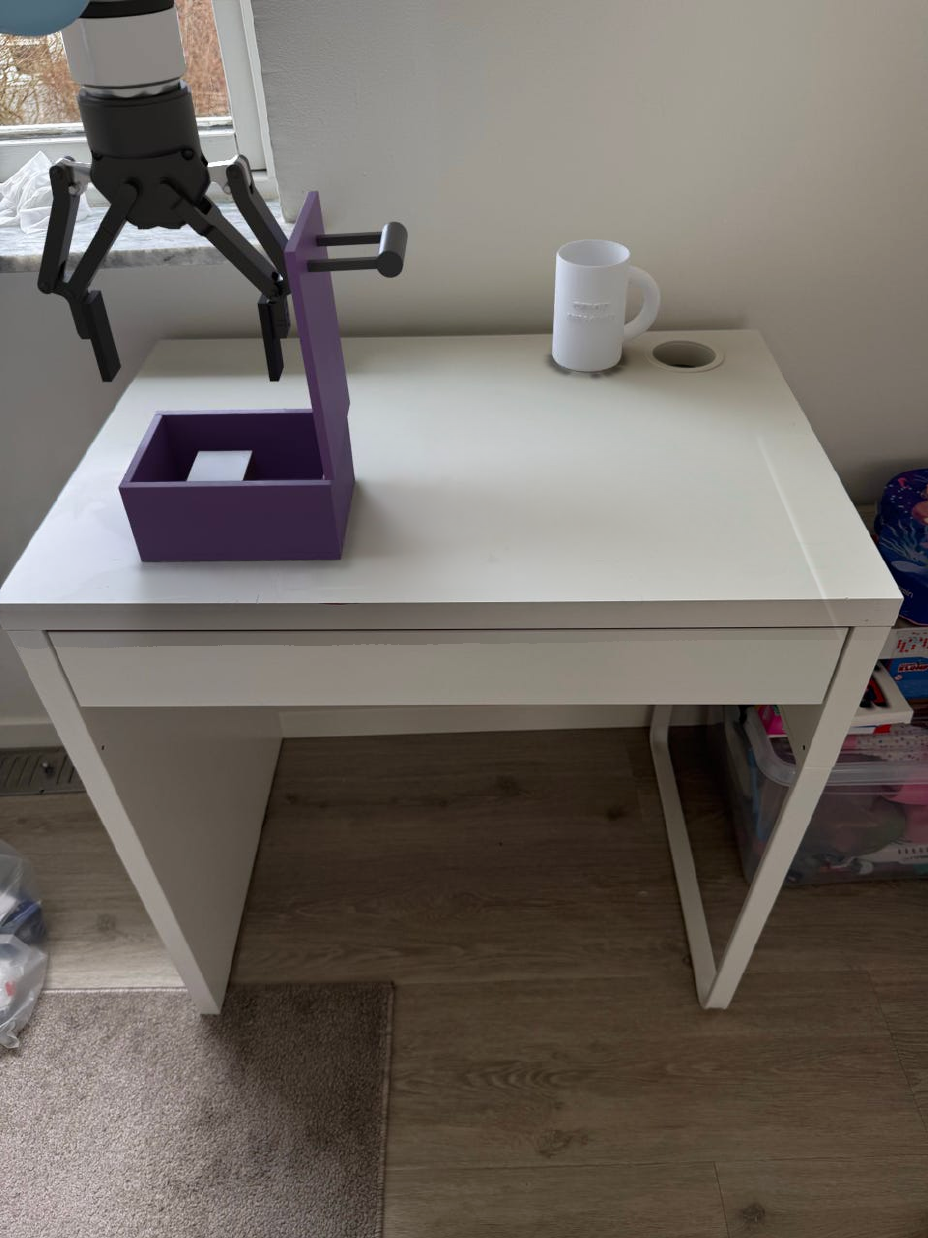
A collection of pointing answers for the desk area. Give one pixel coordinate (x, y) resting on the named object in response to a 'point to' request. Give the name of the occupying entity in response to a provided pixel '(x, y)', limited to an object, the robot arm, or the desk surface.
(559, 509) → the desk surface
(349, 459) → the purple box
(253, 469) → the block
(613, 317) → the mug
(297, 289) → the purple hinged box lid
